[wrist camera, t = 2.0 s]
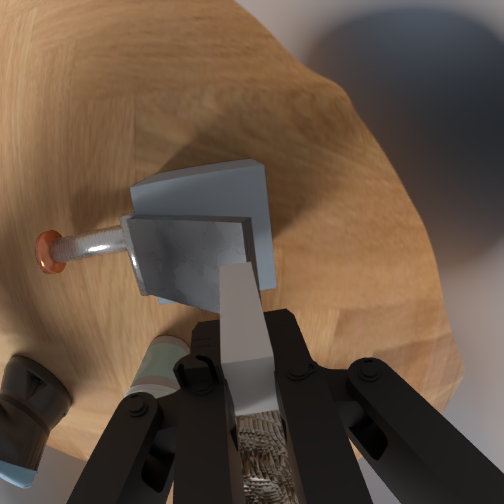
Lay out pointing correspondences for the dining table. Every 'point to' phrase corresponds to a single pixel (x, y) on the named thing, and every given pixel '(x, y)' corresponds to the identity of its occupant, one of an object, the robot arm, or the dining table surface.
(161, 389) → the coffee cup
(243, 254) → the keeper plate
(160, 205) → the block
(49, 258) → the lynch pin
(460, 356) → the dining table surface
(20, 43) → the dining table surface
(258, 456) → the sculpture
